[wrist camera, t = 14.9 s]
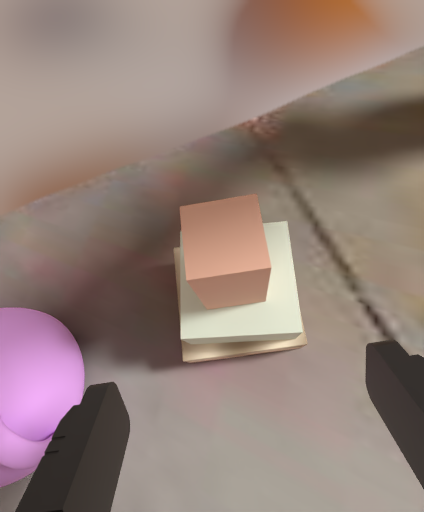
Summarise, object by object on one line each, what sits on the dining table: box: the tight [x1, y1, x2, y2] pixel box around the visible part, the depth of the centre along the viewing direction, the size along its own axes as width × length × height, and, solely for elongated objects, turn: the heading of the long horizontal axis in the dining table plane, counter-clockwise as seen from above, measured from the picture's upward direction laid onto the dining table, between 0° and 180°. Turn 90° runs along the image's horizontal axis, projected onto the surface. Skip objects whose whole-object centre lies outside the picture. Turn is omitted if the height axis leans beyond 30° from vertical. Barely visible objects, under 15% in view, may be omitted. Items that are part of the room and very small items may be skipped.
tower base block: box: [173, 247, 308, 363], centre depth 34 cm, size 12×12×5 cm
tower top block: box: [180, 221, 303, 345], centre depth 30 cm, size 10×10×5 cm
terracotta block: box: [180, 194, 272, 310], centre depth 23 cm, size 5×5×9 cm
